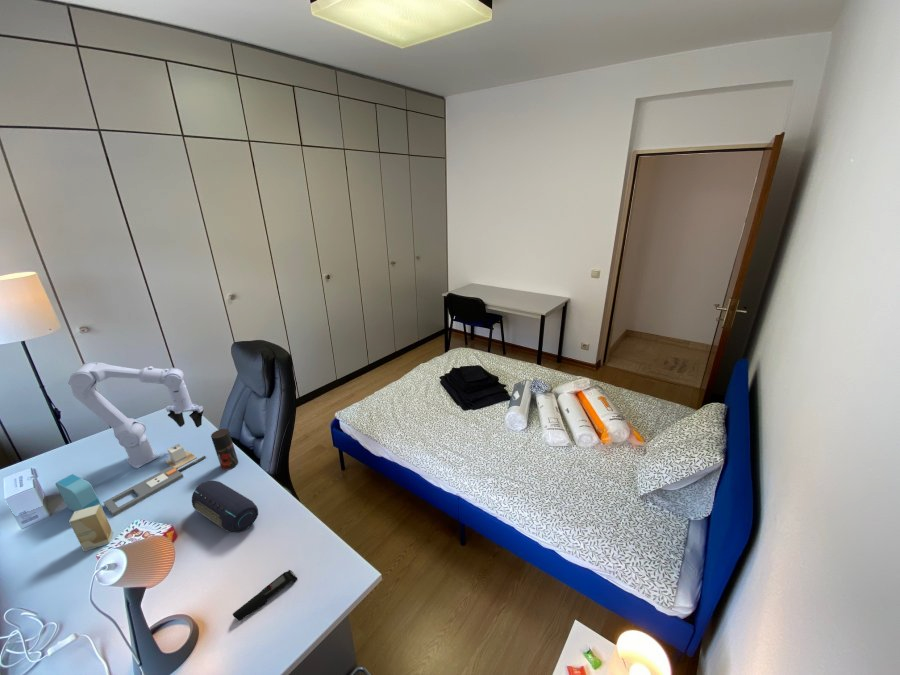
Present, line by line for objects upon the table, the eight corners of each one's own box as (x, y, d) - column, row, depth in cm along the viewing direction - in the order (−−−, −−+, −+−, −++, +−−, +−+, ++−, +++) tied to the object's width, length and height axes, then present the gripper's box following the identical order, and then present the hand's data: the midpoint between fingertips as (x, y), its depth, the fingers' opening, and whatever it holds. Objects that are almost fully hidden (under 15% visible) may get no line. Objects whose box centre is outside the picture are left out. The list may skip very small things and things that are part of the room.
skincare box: (83, 552, 109) (66, 522, 105) (89, 540, 113) (72, 511, 108) (111, 543, 112) (95, 513, 107) (115, 532, 115) (100, 503, 111)
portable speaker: (191, 513, 122) (182, 490, 118) (220, 492, 130) (213, 471, 126) (235, 544, 110) (227, 520, 107) (265, 520, 118) (258, 497, 115)
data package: (104, 509, 124) (90, 482, 120) (87, 519, 120) (72, 492, 116) (85, 499, 129) (70, 472, 124) (68, 508, 125) (53, 481, 120)
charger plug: (171, 461, 145) (166, 449, 143) (182, 455, 149) (178, 443, 146) (176, 465, 143) (171, 452, 141) (187, 459, 147) (183, 446, 144)
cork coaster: (165, 462, 145) (165, 461, 145) (187, 451, 152) (187, 450, 152) (174, 469, 141) (174, 469, 141) (196, 457, 148) (196, 457, 147)
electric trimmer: (233, 616, 92) (229, 608, 90) (292, 571, 102) (290, 564, 101) (238, 627, 89) (235, 619, 88) (298, 580, 100) (296, 572, 98)
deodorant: (241, 459, 146) (232, 429, 140) (232, 470, 140) (221, 438, 135) (228, 459, 146) (218, 428, 141) (217, 469, 141) (207, 438, 135)
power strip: (104, 505, 126) (102, 500, 125) (200, 453, 150) (198, 449, 149) (114, 516, 121) (111, 511, 121) (211, 461, 145) (209, 457, 145)
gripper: (155, 402, 143) (166, 431, 148) (190, 403, 141) (200, 432, 147) (170, 393, 149) (180, 420, 154) (202, 394, 148) (212, 421, 153)
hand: (190, 425), depth 151 cm, fingers open, 7 cm apart
